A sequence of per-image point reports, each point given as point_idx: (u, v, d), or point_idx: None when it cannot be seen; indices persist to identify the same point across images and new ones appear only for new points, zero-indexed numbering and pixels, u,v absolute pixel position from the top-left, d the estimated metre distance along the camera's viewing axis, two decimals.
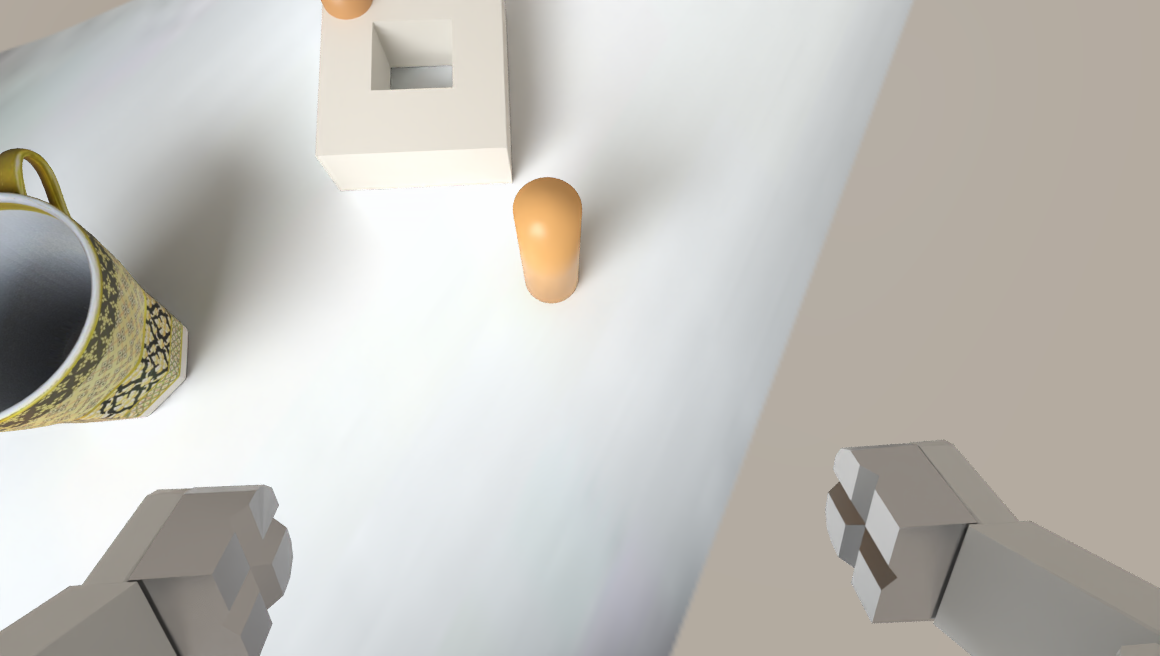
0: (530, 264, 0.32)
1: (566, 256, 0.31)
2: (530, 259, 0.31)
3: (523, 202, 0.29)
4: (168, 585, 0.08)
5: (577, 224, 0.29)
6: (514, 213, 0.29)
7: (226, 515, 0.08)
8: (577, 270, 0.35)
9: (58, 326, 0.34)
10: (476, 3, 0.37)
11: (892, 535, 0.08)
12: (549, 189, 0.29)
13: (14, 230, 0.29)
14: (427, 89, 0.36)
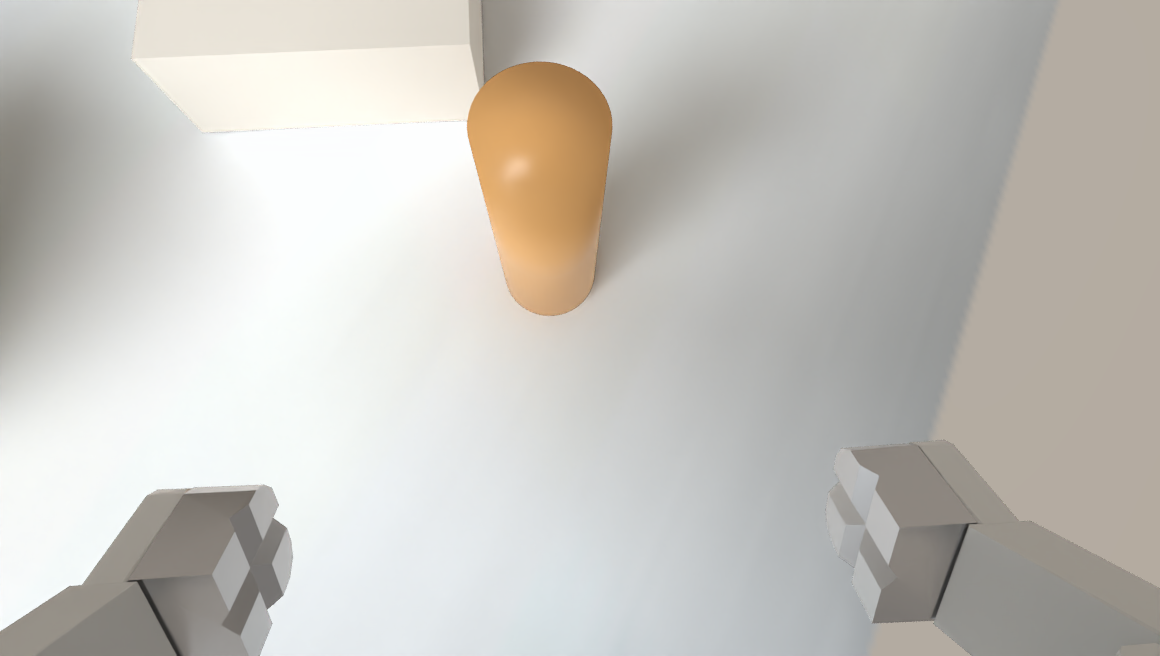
0: (509, 246, 0.17)
1: (579, 228, 0.16)
2: (508, 235, 0.16)
3: (489, 111, 0.14)
4: (168, 585, 0.08)
5: (603, 156, 0.14)
6: (470, 134, 0.14)
7: (226, 515, 0.08)
8: (595, 259, 0.20)
9: None
10: None
11: (892, 535, 0.08)
12: (543, 85, 0.14)
13: None
14: None
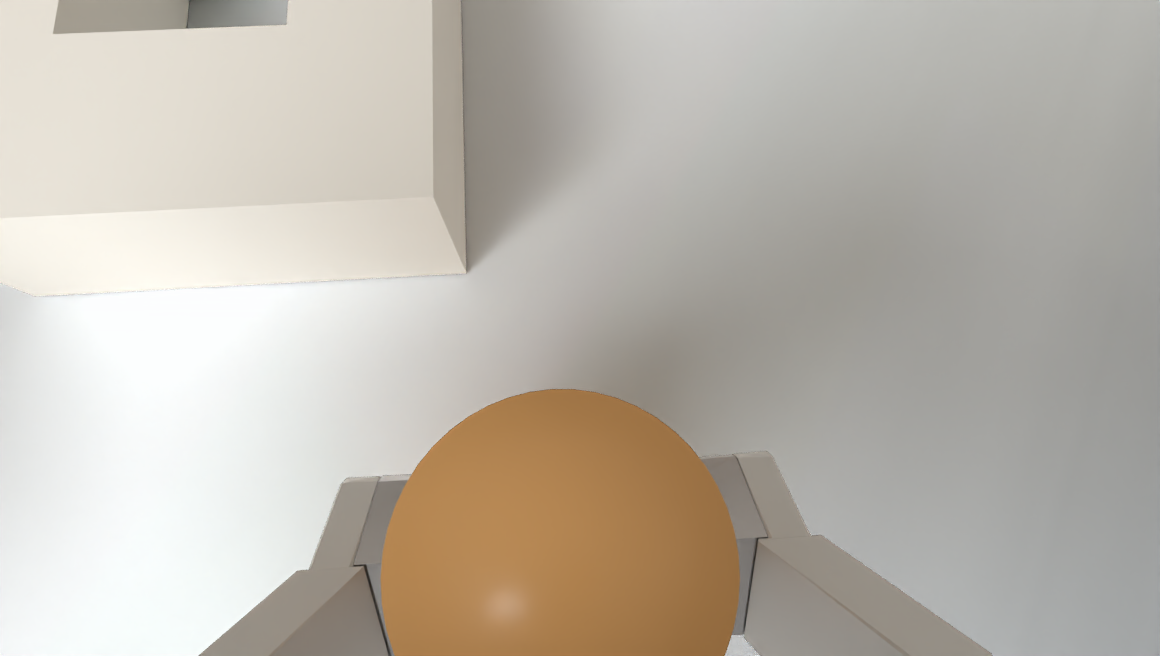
0: None
1: None
2: None
3: (438, 530, 0.06)
4: None
5: None
6: (388, 597, 0.05)
7: None
8: None
9: None
10: None
11: None
12: (570, 455, 0.06)
13: None
14: (214, 31, 0.13)
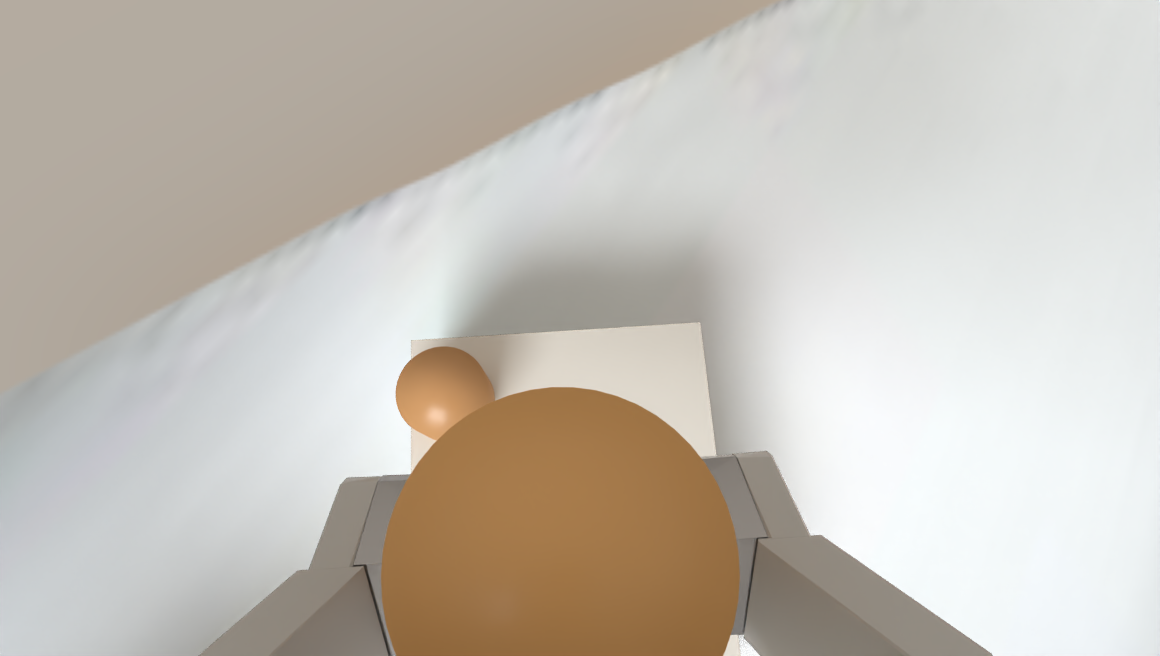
0: None
1: None
2: None
3: (438, 527, 0.06)
4: None
5: (719, 654, 0.05)
6: (388, 594, 0.05)
7: None
8: None
9: None
10: (668, 406, 0.22)
11: None
12: (570, 453, 0.06)
13: None
14: None
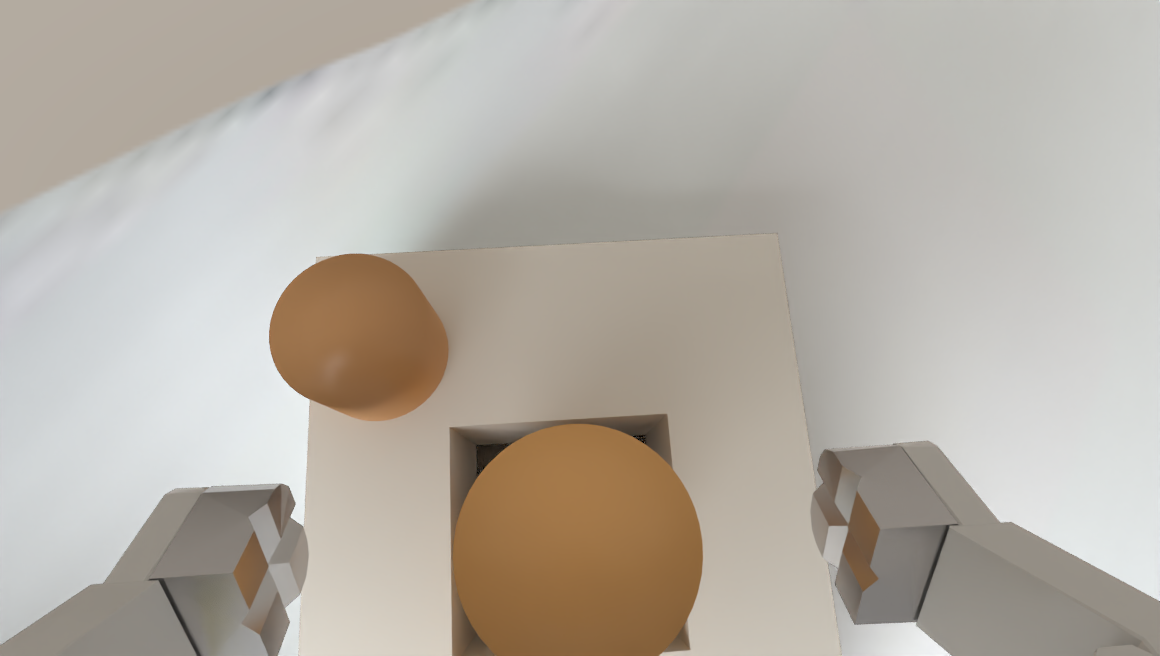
0: None
1: None
2: None
3: (492, 523, 0.08)
4: (189, 584, 0.08)
5: (688, 611, 0.08)
6: (458, 570, 0.08)
7: (245, 514, 0.08)
8: None
9: None
10: (729, 363, 0.14)
11: (873, 536, 0.08)
12: (584, 471, 0.08)
13: None
14: None
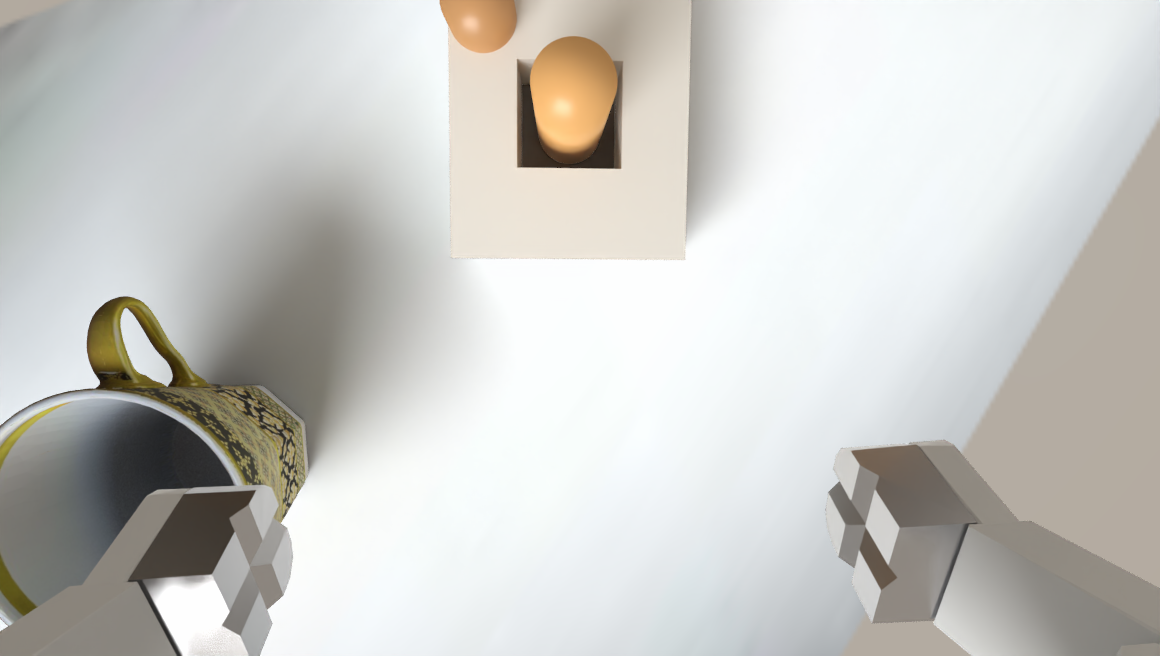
0: (547, 135, 0.26)
1: (592, 134, 0.25)
2: (547, 132, 0.26)
3: (543, 70, 0.23)
4: (168, 585, 0.08)
5: (610, 106, 0.23)
6: (531, 85, 0.23)
7: (226, 515, 0.08)
8: (601, 134, 0.29)
9: (164, 423, 0.31)
10: (656, 37, 0.27)
11: (892, 535, 0.08)
12: (577, 54, 0.23)
13: None
14: (589, 170, 0.28)
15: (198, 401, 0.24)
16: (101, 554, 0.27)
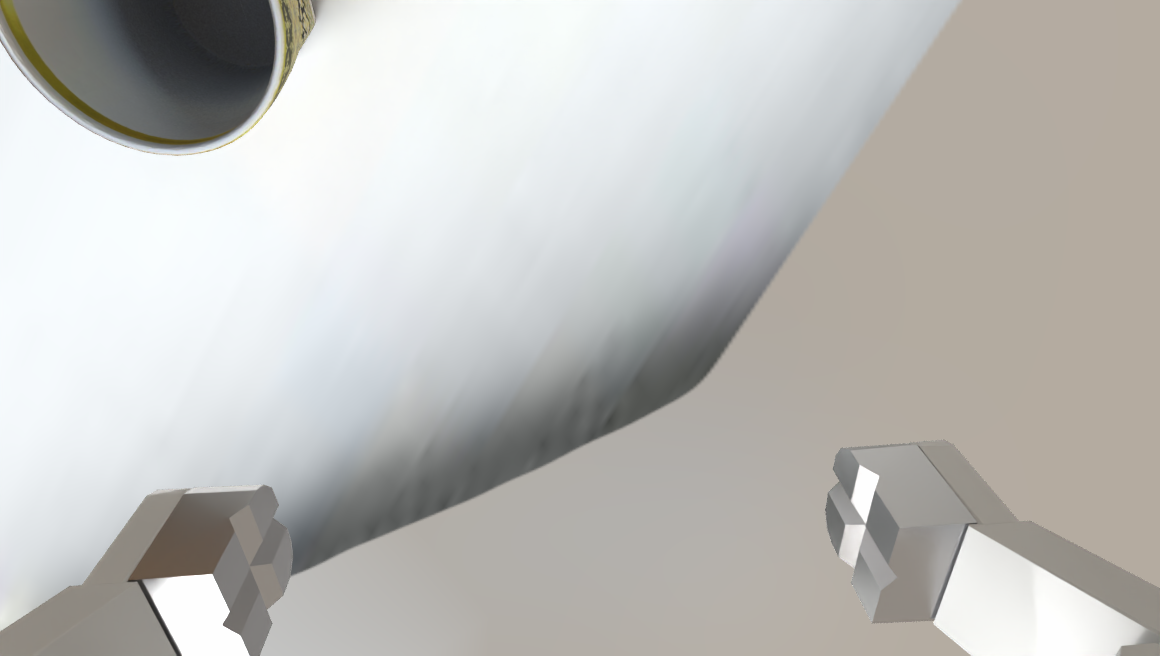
0: None
1: None
2: None
3: None
4: (168, 585, 0.08)
5: None
6: None
7: (226, 515, 0.08)
8: None
9: None
10: None
11: (892, 535, 0.08)
12: None
13: None
14: None
15: None
16: (134, 78, 0.28)
